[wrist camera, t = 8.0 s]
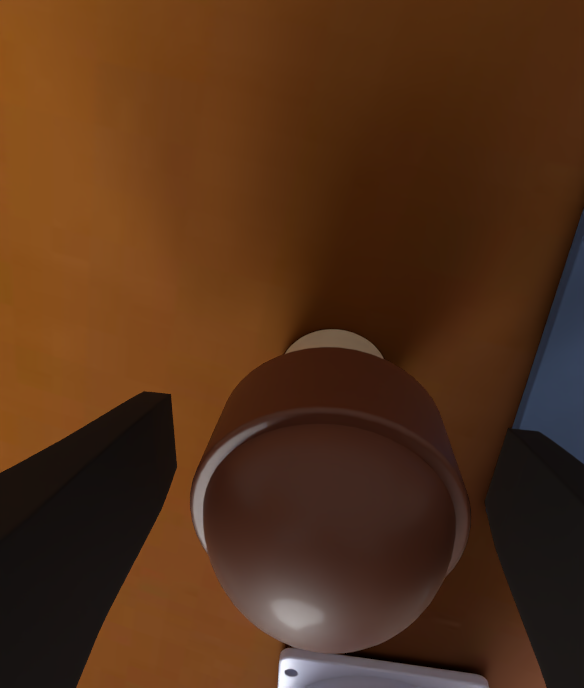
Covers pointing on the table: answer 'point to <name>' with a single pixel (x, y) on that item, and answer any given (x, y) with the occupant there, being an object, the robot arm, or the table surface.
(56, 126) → the table surface
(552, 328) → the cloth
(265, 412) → the brown mushroom
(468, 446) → the table surface
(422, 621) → the table surface
